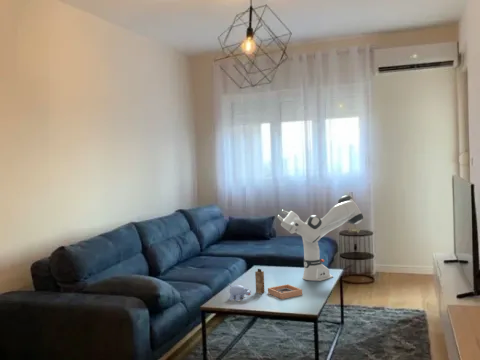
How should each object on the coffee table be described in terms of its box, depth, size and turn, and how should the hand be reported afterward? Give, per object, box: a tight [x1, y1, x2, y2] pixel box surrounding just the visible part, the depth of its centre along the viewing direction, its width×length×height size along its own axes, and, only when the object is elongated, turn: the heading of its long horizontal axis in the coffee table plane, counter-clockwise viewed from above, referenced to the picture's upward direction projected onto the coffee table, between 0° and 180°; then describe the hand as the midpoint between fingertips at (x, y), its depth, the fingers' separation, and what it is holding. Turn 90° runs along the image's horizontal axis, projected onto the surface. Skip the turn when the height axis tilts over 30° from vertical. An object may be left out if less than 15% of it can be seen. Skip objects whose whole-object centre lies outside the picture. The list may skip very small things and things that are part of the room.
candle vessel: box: [267, 284, 303, 300], centre depth 314 cm, size 16×16×4 cm
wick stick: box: [254, 268, 265, 294], centre depth 320 cm, size 4×4×16 cm
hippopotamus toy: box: [228, 283, 252, 302], centre depth 307 cm, size 11×15×10 cm
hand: (279, 213), depth 320 cm, fingers open, 8 cm apart
